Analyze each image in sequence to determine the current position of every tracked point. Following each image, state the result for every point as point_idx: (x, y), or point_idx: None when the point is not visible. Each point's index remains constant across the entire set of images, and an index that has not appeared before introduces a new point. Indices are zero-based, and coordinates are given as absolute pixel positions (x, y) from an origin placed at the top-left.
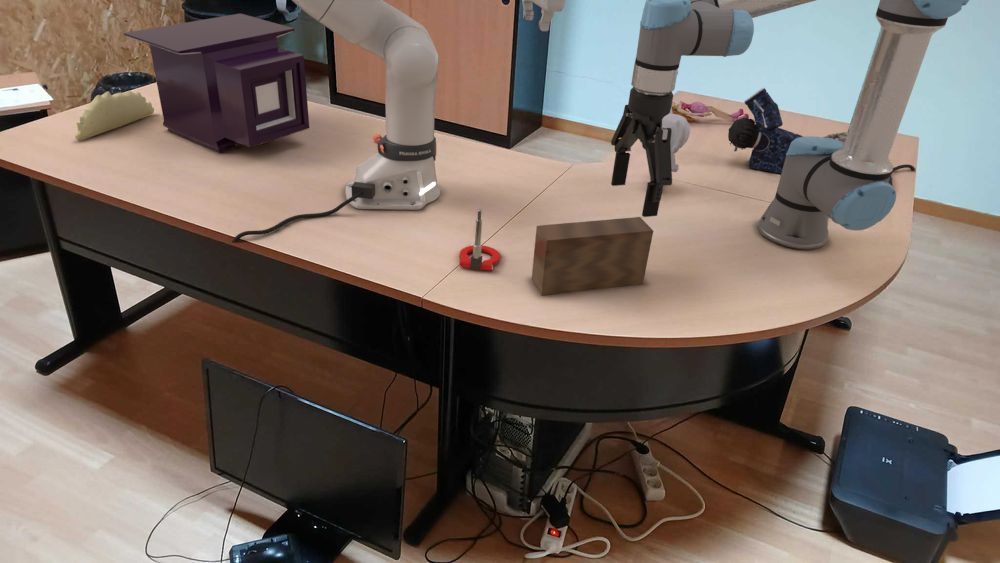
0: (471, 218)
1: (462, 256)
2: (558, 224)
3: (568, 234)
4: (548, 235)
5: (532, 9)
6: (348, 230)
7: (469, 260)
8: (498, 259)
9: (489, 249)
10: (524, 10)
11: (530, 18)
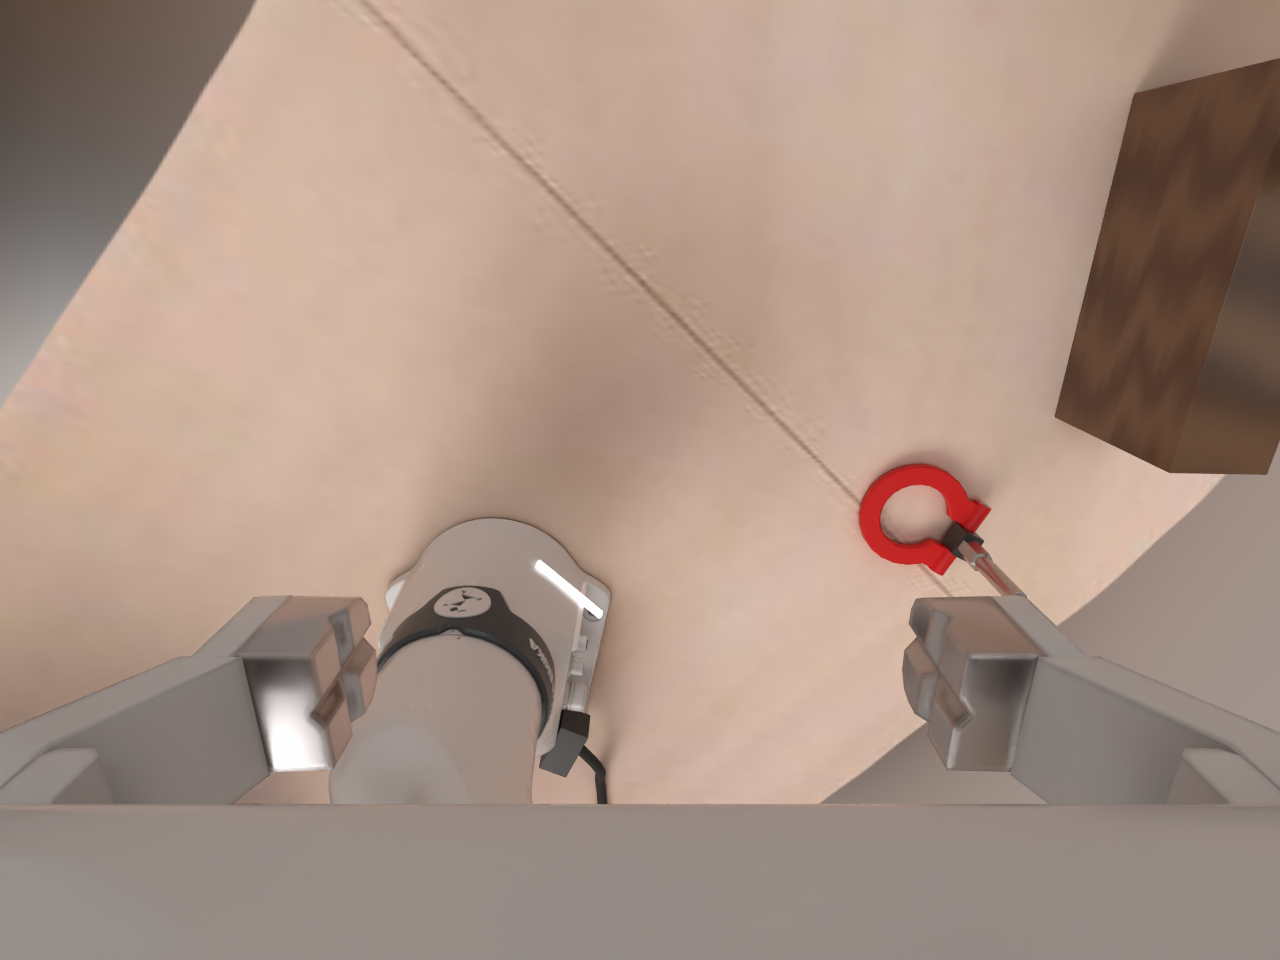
0: (686, 472)
1: (913, 560)
2: (1197, 403)
3: (1271, 396)
4: (1243, 460)
5: (221, 668)
6: (684, 751)
7: (939, 550)
8: (955, 479)
9: (896, 485)
10: (259, 773)
11: (362, 636)
